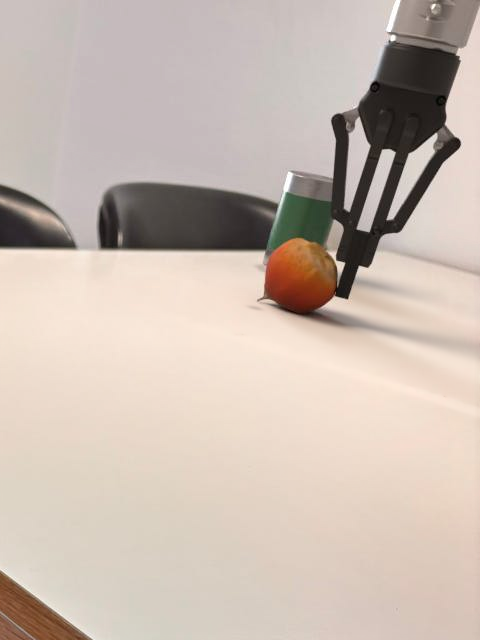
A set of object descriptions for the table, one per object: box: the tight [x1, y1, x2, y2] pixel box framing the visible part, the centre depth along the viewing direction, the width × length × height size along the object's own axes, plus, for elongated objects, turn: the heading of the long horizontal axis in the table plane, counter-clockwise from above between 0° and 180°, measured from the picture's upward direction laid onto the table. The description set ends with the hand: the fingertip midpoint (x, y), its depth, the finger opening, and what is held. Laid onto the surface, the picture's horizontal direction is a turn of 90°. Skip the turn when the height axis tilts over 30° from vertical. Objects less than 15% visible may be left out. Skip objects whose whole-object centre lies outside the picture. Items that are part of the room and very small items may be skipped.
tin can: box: [262, 170, 335, 266], centre depth 135 cm, size 7×7×11 cm
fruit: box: [256, 238, 339, 315], centre depth 115 cm, size 8×8×8 cm
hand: (341, 295), depth 114 cm, fingers closed
